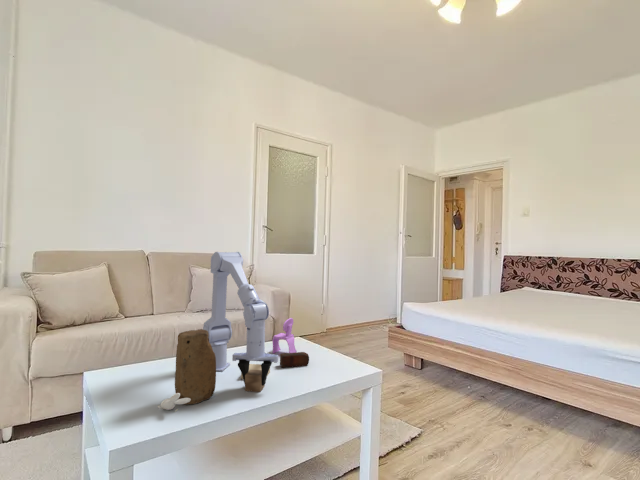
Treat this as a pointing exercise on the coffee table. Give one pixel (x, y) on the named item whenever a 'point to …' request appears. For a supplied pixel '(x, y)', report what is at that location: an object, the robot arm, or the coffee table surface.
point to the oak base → (255, 368)
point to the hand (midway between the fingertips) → (255, 383)
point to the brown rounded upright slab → (195, 366)
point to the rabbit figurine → (173, 402)
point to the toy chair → (285, 337)
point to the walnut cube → (253, 381)
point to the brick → (294, 359)
